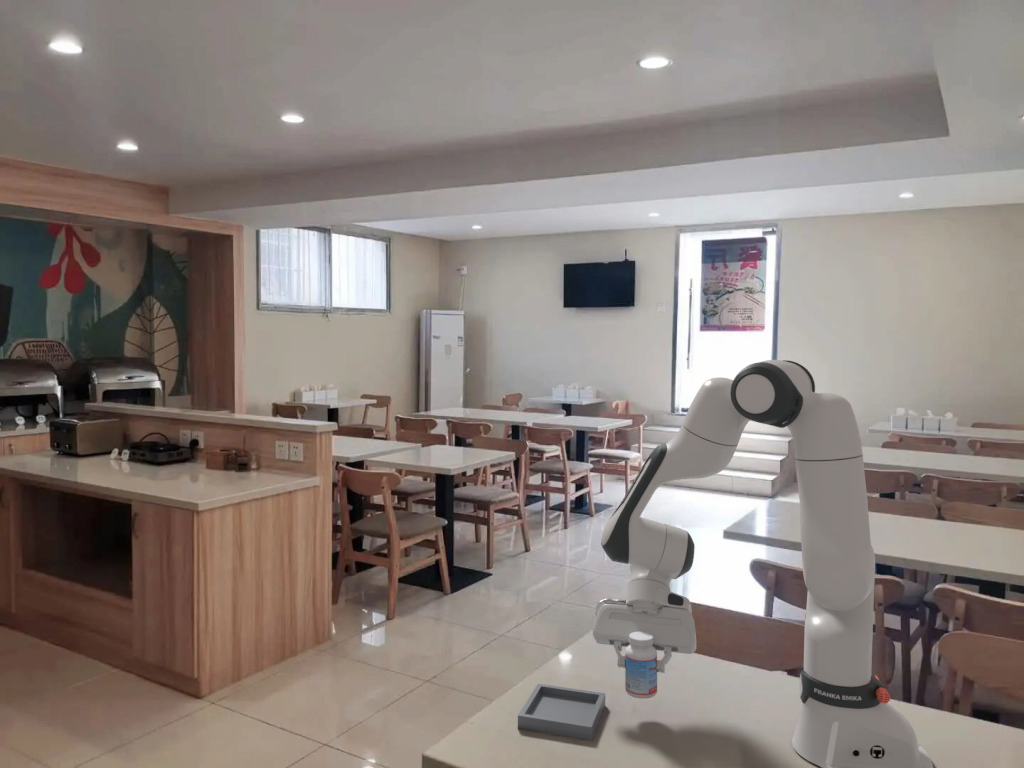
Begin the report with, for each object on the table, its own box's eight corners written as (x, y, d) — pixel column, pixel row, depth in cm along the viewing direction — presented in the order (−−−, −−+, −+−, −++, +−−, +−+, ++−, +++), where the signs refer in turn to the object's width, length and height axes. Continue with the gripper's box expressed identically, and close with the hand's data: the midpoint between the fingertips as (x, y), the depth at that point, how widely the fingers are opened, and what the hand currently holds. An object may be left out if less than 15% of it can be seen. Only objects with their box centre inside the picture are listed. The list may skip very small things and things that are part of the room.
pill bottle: (656, 701, 144) (657, 643, 143) (624, 698, 145) (624, 640, 144) (657, 687, 150) (657, 631, 149) (626, 684, 151) (626, 628, 150)
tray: (605, 705, 152) (605, 693, 152) (591, 740, 138) (591, 727, 138) (537, 695, 156) (537, 683, 156) (517, 728, 143) (517, 715, 142)
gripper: (595, 590, 156) (585, 655, 147) (697, 600, 150) (693, 668, 141) (599, 604, 161) (590, 669, 152) (698, 614, 154) (695, 681, 146)
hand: (640, 669), depth 146 cm, fingers closed on pill bottle, 6 cm apart
